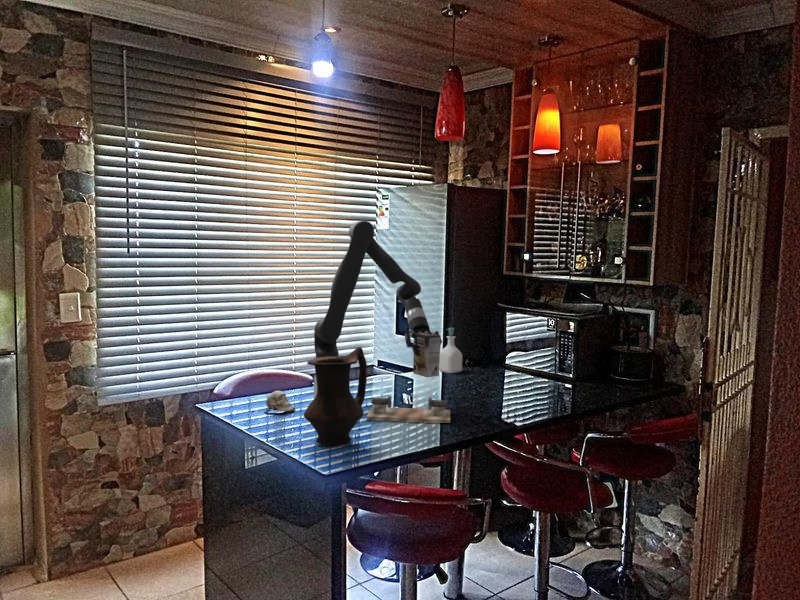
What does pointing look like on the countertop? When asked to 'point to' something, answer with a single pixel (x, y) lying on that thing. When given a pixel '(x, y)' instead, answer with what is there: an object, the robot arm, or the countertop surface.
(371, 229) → the robot arm
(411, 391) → the countertop surface
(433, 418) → the shaft board
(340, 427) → the jug
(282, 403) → the skull
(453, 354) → the soap bottle
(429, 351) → the coffee box
